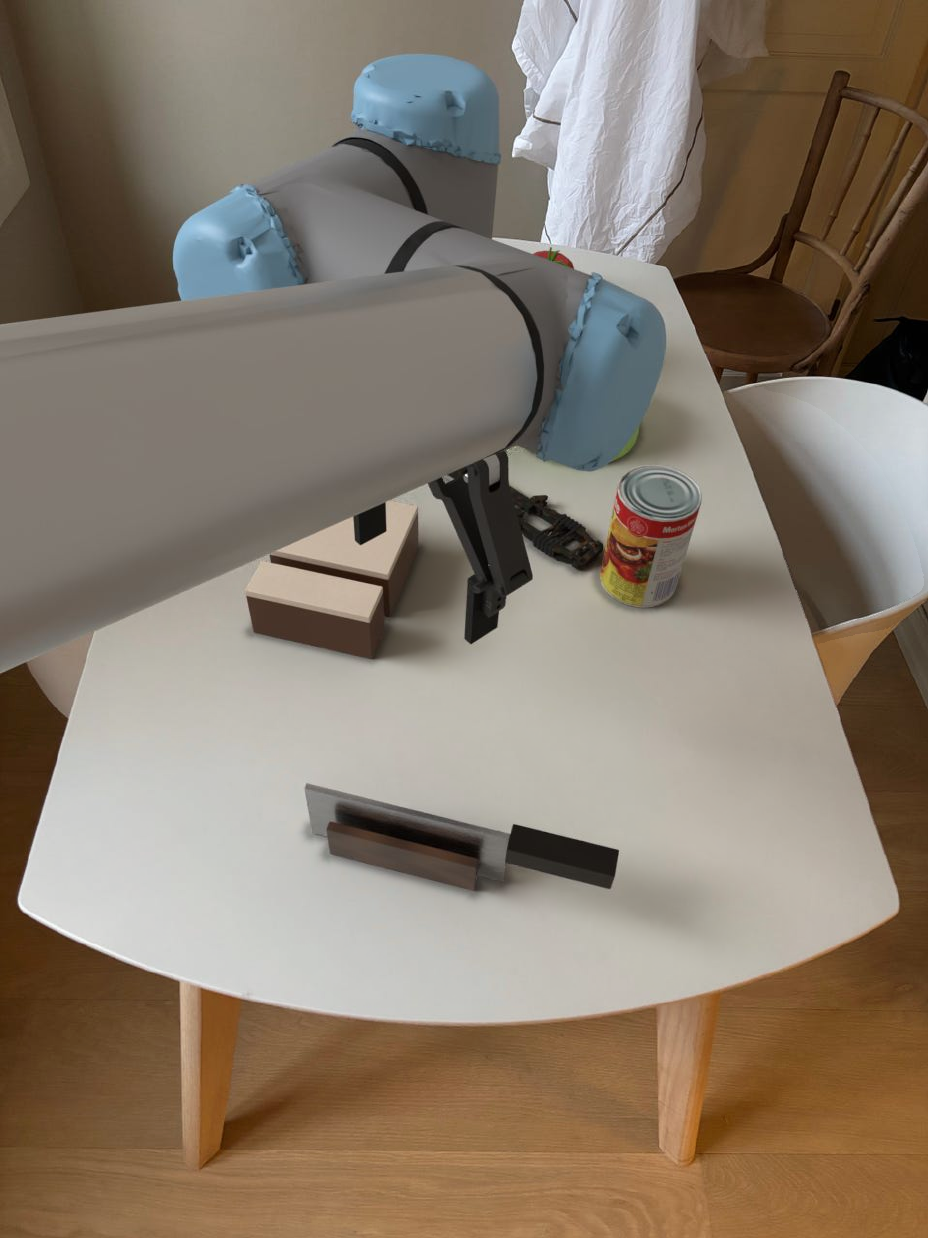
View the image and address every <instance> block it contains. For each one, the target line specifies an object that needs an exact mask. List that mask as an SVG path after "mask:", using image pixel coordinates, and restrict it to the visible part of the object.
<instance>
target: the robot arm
mask: <svg viewBox="0 0 928 1238" xmlns="http://www.w3.org/2000/svg"><path fill="white" fill-rule="evenodd" d="M352 104H353V107H352V111H351V114H349V116H350V119H351V121H350V122H351V123H352V126H353V127H352V128H353V133H351V134H350V135H347V136H345V137H343V138H340V139H338V140H337V141H336V142H334V143H333V144H332V145H331V146H328V147H327V148H324V149H322V150H320V151H318V152H316V153H313V154H311V155H308V156H307V157H304V158H302V159H299V160H297V161H295V162H293V163H291V164H289V165H287V166H283V167H282V168H280V169H277V170H275V171H273V172H270V173H268V174H266V175H264V176H261V177H259V178H257V179H255V180H252V181H250V182H248V183H246V184H243V183H240V184H239V185H237V186H234V188H233V189H232V190H230V192H229V193H228V194H227V195H225V196H224V197H222V198H220V199H217V200H216V201H215V202H213V203H211V204H209V205H208V206H206V207H204V208H203V209H201V210H199V211H197V212H195V213H194V214H192V215H190V217H188V219H186V221H184V222H183V224H182V226H181V227H180V228H179V230H178V232H177V235H176V236H175V237H176V238H175V241H174V244H173V250H172V266H173V267H172V268H173V272H174V273H175V275H174V276H175V278H176V280H177V292H178V295H179V298H180V300H175V301H168V302H161V303H153V304H148V305H147V304H145V305H139V306H138V305H137V306H130V307H123V308H115V309H108V310H100V311H92V312H85V313H78V314H77V313H76V314H70V315H62V316H55V317H48V318H47V317H46V318H40V319H39V318H37V319H31V320H25V321H16V322H9V323H2V324H0V674H3V673H5V672H7V671H9V670H11V669H14V668H16V667H19V666H20V665H23V664H25V663H27V662H29V661H32V660H34V659H36V658H38V657H40V656H43V655H45V654H48V653H49V652H52V651H54V650H56V649H59V648H61V647H63V646H65V645H67V644H70V643H72V642H75V641H76V640H79V639H81V638H83V637H85V636H87V635H90V634H92V633H95V632H97V631H99V630H102V629H104V628H106V627H108V626H110V625H112V624H115V623H117V622H119V621H121V620H123V619H126V618H128V617H130V616H133V615H135V614H137V613H140V612H142V611H144V610H146V609H149V608H151V607H153V606H155V605H158V604H160V603H163V602H164V601H167V600H169V599H171V598H173V597H175V596H178V595H180V594H182V593H184V592H186V591H189V590H191V589H193V588H195V587H196V588H197V587H198V586H200V585H202V584H205V583H207V582H210V581H211V580H214V579H216V578H218V577H221V576H222V575H225V574H227V573H229V572H232V571H233V570H236V569H239V568H240V567H243V566H246V565H247V564H250V563H252V562H254V561H257V560H258V559H261V558H263V557H265V556H267V555H270V553H272V552H274V551H277V550H279V549H281V548H283V547H286V546H288V545H290V544H292V543H295V542H297V541H299V540H301V539H304V538H306V537H308V536H310V535H313V534H315V533H317V532H319V531H322V530H324V529H326V528H328V527H331V526H333V525H335V524H337V523H340V522H342V521H344V520H346V519H349V518H351V517H353V520H354V535H355V541H356V542H357V543H358V544H359V545H360V546H361V545H362V544H364V543H366V542H368V541H370V540H372V539H374V538H375V537H377V536H379V535H381V534H383V533H385V532H386V531H387V528H386V502H387V501H389V500H390V501H392V500H394V499H396V498H398V497H400V496H402V495H405V494H407V493H409V492H411V491H414V490H415V489H416V490H417V489H418V488H420V487H423V486H425V485H427V484H428V487H429V490H430V492H431V494H432V496H433V497H434V498H435V500H441V501H442V503H443V506H444V507H445V510H446V513H447V515H448V517H449V519H450V522H451V523H452V527H453V528H454V530H455V533H456V535H457V537H458V540H459V542H460V544H461V546H462V548H463V551H464V553H465V555H466V558H467V560H468V562H469V564H470V567H471V570H472V572H473V574H472V575H471V576H469V577H467V585H466V587H467V588H466V602H465V616H464V617H465V619H464V620H465V621H464V636H463V639H464V640H465V642H467V643H468V644H469V645H473V644H474V643H476V642H477V641H479V640H480V639H482V638H483V637H486V636H487V635H488V634H490V633H491V632H492V631H494V630H496V629H497V628H498V627H499V615H500V611H502V610H503V609H504V608H505V607H506V603H507V596H509V595H511V594H512V593H514V592H515V591H517V590H518V589H520V588H522V587H523V586H525V585H527V584H528V583H530V582H531V581H533V579H534V576H533V571H532V566H531V563H530V559H529V555H528V552H527V547H526V544H525V540H524V535H523V533H522V532H521V528H520V524H519V520H518V516H517V512H516V506H515V505H514V501H513V497H512V493H511V489H510V486H511V485H510V482H509V481H510V480H509V478H510V477H509V475H510V473H509V455H508V453H507V452H506V451H508V450H509V449H512V448H514V447H520V448H523V449H525V450H527V451H528V452H530V453H533V455H536V458H538V459H540V460H542V461H543V462H548V461H552V462H554V463H558V464H561V465H562V466H565V467H568V468H571V469H573V470H576V471H580V472H594V471H597V470H598V469H602V468H604V467H605V466H607V465H608V464H610V463H611V462H613V461H612V460H613V459H614V458H615V457H616V456H617V455H618V454H619V453H620V452H621V450H622V449H623V448H624V447H625V446H626V444H627V443H628V442H629V440H630V439H631V437H632V436H633V434H634V433H635V431H636V430H637V428H638V426H639V424H640V425H641V422H642V421H643V419H644V417H645V415H646V413H647V410H648V409H649V406H650V404H651V402H652V399H653V397H654V394H655V392H656V389H657V385H658V383H659V381H660V376H661V375H662V374H661V373H662V369H663V366H664V363H665V356H666V351H667V330H666V324H665V320H664V317H663V315H662V313H661V311H660V310H659V309H658V308H657V306H655V304H654V303H653V302H651V301H650V300H648V299H646V298H644V297H642V296H640V295H637V294H635V293H633V292H631V291H629V290H627V289H625V288H623V287H621V286H619V285H616V284H615V283H613V282H611V281H609V280H606V279H604V278H603V276H602V275H601V274H600V273H597V272H594V271H592V272H591V274H588V273H586V272H584V271H582V270H578V269H575V268H574V269H572V268H570V267H567V266H564V265H561V264H559V263H556V262H553V261H550V260H548V259H545V258H542V257H539V256H537V255H534V253H531V252H529V251H526V250H523V249H520V248H517V247H515V246H511V245H509V244H506V243H503V242H501V241H498V240H495V239H494V238H493V232H494V221H495V209H496V198H497V187H498V186H497V185H498V175H499V174H498V173H499V164H501V161H502V154H501V153H500V96H499V91H498V88H497V86H496V84H495V82H494V80H493V78H491V77H490V76H489V74H488V73H487V72H485V71H484V70H483V69H482V68H480V67H478V66H477V65H476V64H473V63H471V62H468V61H466V60H461V59H458V58H455V57H451V56H447V55H440V54H431V53H405V54H397V55H392V56H388V57H383V58H380V59H378V60H375V61H373V62H371V63H369V64H367V65H366V66H365V67H364V68H363V69H362V70H361V73H360V75H359V76H358V77H357V79H356V80H355V82H354V85H353V103H352ZM581 271H582V272H581ZM583 272H584V273H583ZM461 468H462V475H461V476H459V477H457V478H455V479H453V480H451V481H449V480H448V481H447V482H445V481H444V479H443V478H444V477H443V476H445V475H447V474H450V473H452V472H454V471H456V470H459V469H461Z"/></svg>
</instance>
